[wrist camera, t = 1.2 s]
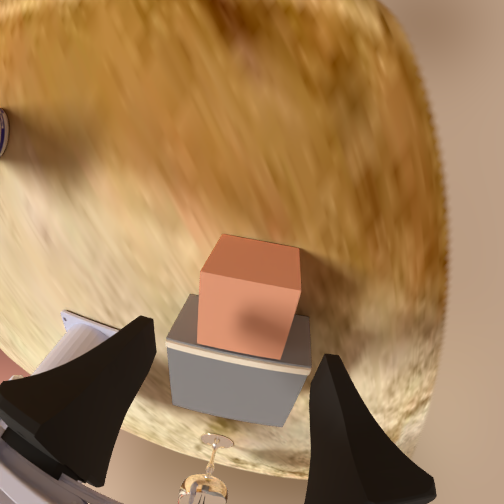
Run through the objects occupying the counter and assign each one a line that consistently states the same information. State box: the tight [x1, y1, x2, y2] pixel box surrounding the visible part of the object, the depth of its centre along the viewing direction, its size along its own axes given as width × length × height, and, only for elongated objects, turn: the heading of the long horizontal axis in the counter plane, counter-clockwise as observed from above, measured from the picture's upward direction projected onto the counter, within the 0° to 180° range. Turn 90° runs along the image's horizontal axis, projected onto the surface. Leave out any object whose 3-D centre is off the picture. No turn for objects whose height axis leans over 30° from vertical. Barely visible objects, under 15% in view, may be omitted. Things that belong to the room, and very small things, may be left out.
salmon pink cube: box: [197, 234, 301, 360], centre depth 17 cm, size 5×5×5 cm
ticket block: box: [165, 294, 312, 427], centre depth 20 cm, size 8×9×5 cm
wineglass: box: [178, 433, 233, 504], centre depth 26 cm, size 6×6×12 cm
